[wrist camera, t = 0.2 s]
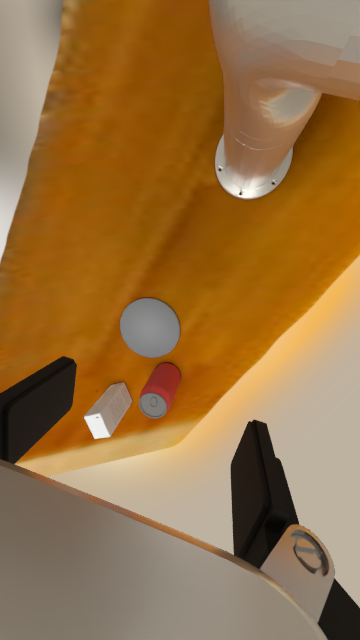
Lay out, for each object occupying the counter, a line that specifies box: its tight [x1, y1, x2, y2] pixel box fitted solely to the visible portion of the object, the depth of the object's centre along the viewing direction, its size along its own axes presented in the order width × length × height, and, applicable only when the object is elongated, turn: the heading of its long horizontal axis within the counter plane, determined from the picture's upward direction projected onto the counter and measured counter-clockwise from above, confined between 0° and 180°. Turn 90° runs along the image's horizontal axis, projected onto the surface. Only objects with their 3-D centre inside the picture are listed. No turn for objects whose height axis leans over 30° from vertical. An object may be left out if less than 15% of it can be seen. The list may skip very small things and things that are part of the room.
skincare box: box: [84, 382, 132, 439], centre depth 51 cm, size 6×4×12 cm
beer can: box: [139, 363, 181, 418], centre depth 47 cm, size 7×7×12 cm
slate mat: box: [120, 298, 180, 358], centre depth 50 cm, size 14×14×1 cm
